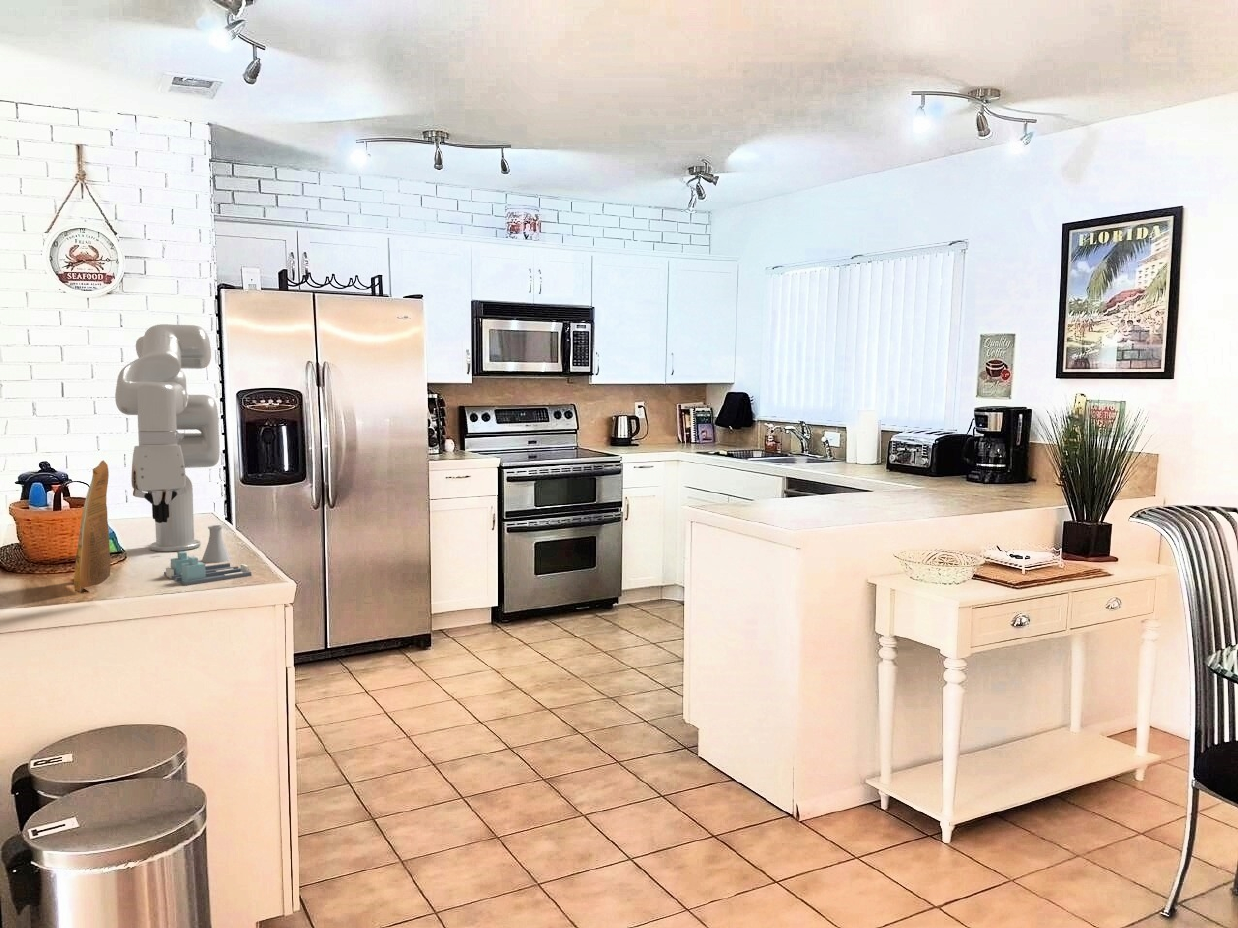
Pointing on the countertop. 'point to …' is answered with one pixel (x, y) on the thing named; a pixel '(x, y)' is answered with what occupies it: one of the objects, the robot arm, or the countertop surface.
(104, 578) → the pancake mix bag
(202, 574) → the tab
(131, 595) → the countertop surface
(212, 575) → the switch bank
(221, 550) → the flask
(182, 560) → the tab
